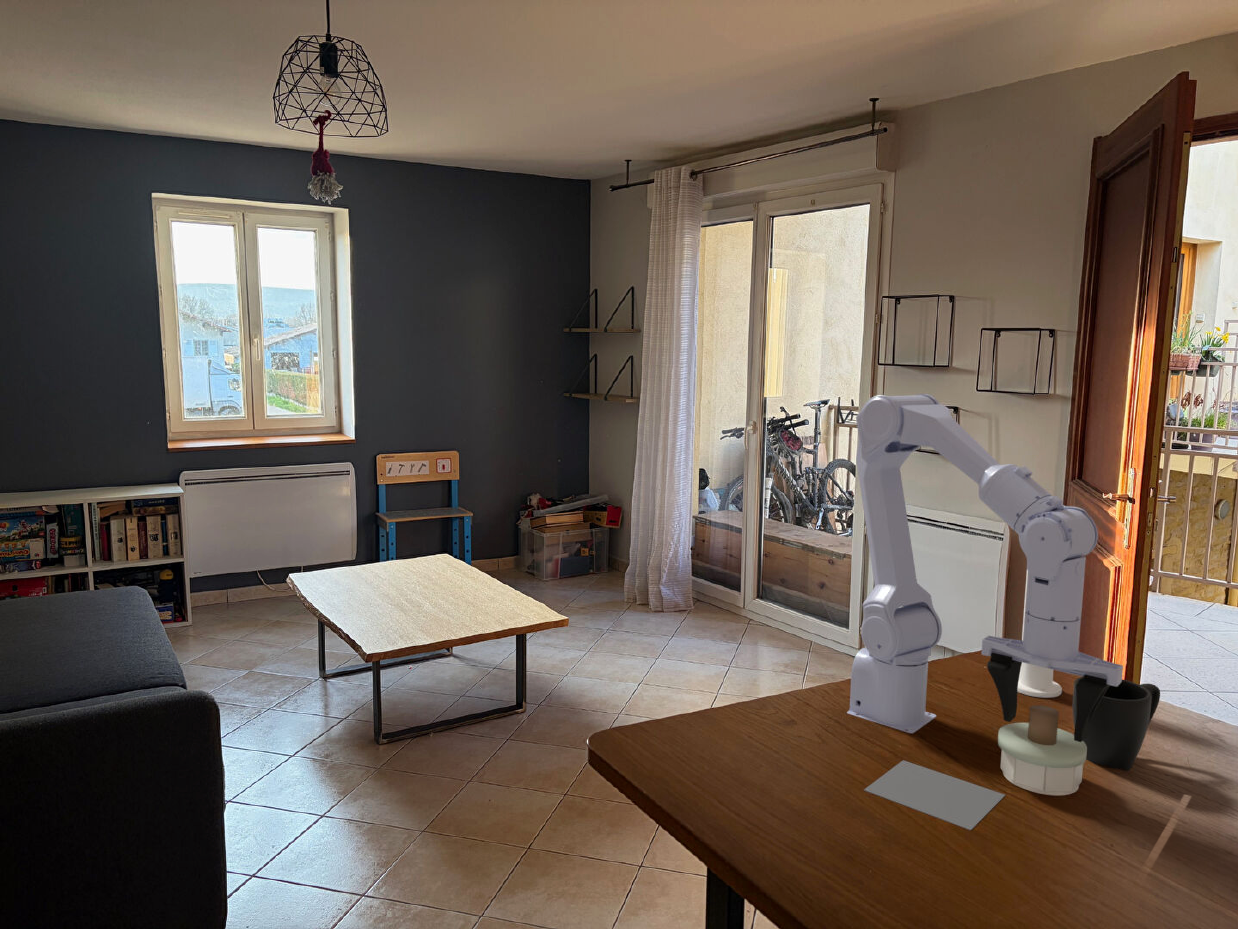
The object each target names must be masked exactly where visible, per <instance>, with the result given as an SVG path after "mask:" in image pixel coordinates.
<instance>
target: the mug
mask: <svg viewBox="0 0 1238 929" xmlns="http://www.w3.org/2000/svg"><path fill="white" fill-rule="evenodd" d="M1083 679H1084V677H1082V676H1078V677H1077V678H1076V679H1075V680H1074V682H1073V691H1072V692H1073V694H1072V720H1073V726H1074V728H1075V723H1076V716H1077V694H1076V684H1077V683H1078V682H1079V681H1081V680H1083ZM1160 698H1161V690H1160V688H1159V687H1158V686H1157V685H1155V684H1153V683H1142V684H1138V683H1135V682H1132V681H1131V680H1126V679H1123V678H1122V682H1121V683H1120V684H1119V685H1118V686H1117V687H1116V686H1111V685H1110V687H1109V688H1108V690H1107V691H1106V693H1105V694H1104V696H1103V697H1102V699H1101V700H1100V702H1099V704H1098V706H1097V708H1096V709H1095V712H1094V714H1093V716H1092V718H1091V721H1090V723H1089V726H1088V730H1087V734H1086V737H1085V739H1084V740H1083V742H1084V743H1085V744H1086V746H1087V754H1086V761H1088V762H1090V763H1093V764H1095V765H1098V766H1102V767H1104V768H1105V767H1106V768H1110V769H1118V770H1121V771H1124V772H1129V771H1130V770H1132V769H1133V765H1134V762H1135V761H1136V758H1137V757H1138V755H1139V752H1140V751H1141V748H1142V745H1143V743H1144V741H1145V737H1146V734H1147V731H1148V728H1149V725H1150V723H1151V721H1152V719H1153V717H1154V715H1155V713H1156V711H1157V708H1158V706H1159V703H1160Z"/></svg>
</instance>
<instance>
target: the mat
mask: <svg viewBox="0 0 1238 929" xmlns="http://www.w3.org/2000/svg"><path fill="white" fill-rule="evenodd" d="M863 791H864V792H866V793H870V794H872V795H875V796H878V797H881V798H883V799H886V800H889V801H891V802H894V803H896V804H899V805H902V806H905V807H907V808H910V809H913V810H915V811H917V812H920V813H923V814H926V815H928V816H931V817H934V818H936V819H939V820H942V821H944V822H948V823H950V824H953V825H955V826H958V827H961V828H963V829H966V830H968V831H972V830H974V828H975V827H976V826H977V825H978V824H979V822H981V821H982V820H983V819H984V818H985V817H986V816H987V815H988V814H989V813H990V812H991V811H992V810H993V809H994V807H995V806H997V804H999V803H1000V801H1002V799H1003V798H1005V797H1006V794H1004V793H1000V792H999V791H995V790H993V789H989V788H986V787H984V786H980V785H977V784H975V783H972V782H969V781H966V780H962V779H960V778H957V777H954V776H951V775H948V774H945V773H942V772H940V771H936V770H935V769H930V768H928V767H924V766H921V765H918V764H915V763H912V762H909V761H906V760H904V759H903V760H902V761H900V762H898V764H896V765H894V766H893V767H892V768H891V769H890V770H888V771H887V772H885V773H884V774H883V775H882V776H880V777H878V778H877V779H876V780H875V781H874V782H872V783H871V784H870V785H868V786H867V787H866V788H865V789H863Z"/></svg>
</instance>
